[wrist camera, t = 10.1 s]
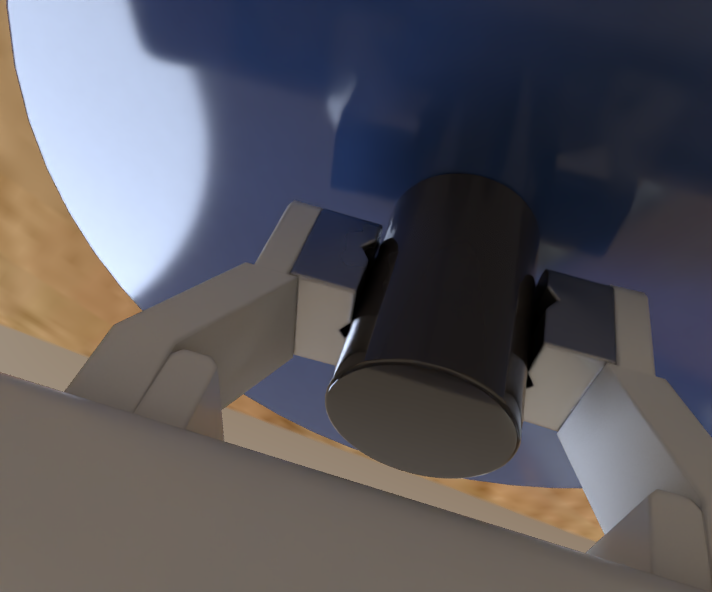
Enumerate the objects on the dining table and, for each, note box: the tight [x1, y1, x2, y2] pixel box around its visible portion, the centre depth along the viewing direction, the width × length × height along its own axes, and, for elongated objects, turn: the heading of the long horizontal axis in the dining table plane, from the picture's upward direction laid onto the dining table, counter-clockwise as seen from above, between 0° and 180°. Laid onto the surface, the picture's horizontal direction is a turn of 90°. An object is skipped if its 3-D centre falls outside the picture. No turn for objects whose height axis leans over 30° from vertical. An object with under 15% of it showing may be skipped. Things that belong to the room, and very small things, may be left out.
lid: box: [6, 0, 712, 488], centre depth 10 cm, size 17×17×5 cm
